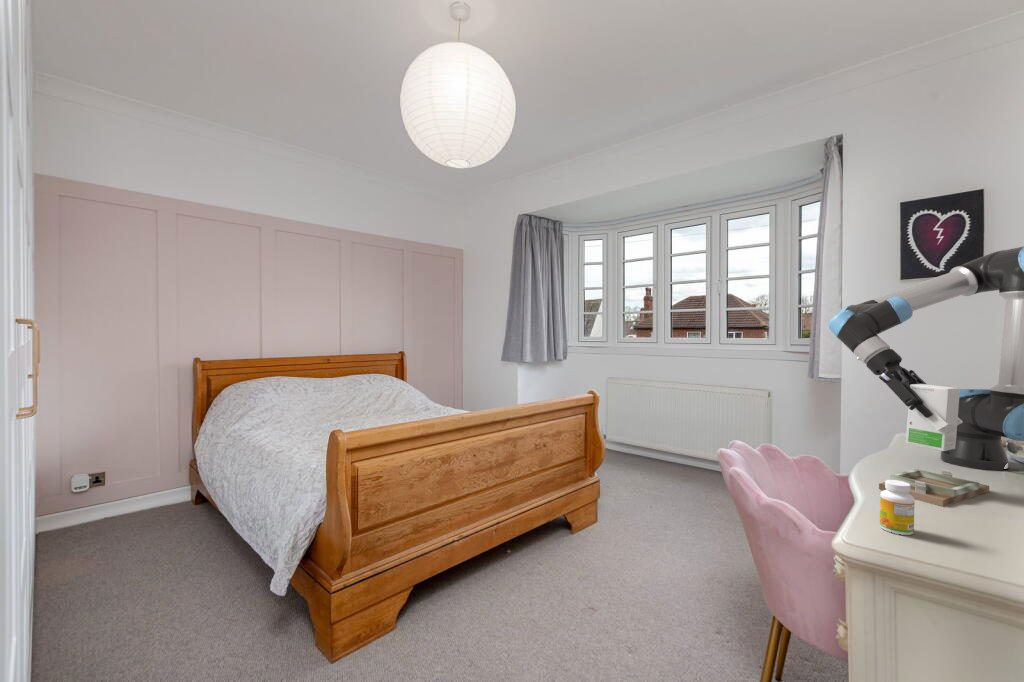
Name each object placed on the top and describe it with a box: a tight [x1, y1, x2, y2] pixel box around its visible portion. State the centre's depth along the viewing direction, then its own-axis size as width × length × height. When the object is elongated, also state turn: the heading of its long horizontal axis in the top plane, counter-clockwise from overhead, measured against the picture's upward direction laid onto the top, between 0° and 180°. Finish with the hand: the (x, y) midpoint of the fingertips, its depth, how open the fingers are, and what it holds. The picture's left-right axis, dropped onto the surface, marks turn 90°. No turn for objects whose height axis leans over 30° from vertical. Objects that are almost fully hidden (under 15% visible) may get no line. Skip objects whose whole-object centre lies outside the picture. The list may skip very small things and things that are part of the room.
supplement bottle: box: [879, 479, 916, 536], centre depth 96 cm, size 5×5×10 cm
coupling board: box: [878, 468, 990, 507], centre depth 121 cm, size 24×13×3 cm, turn 116°
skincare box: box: [905, 383, 961, 452], centre depth 121 cm, size 8×7×16 cm
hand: (950, 426), depth 118 cm, fingers closed on skincare box, 6 cm apart
